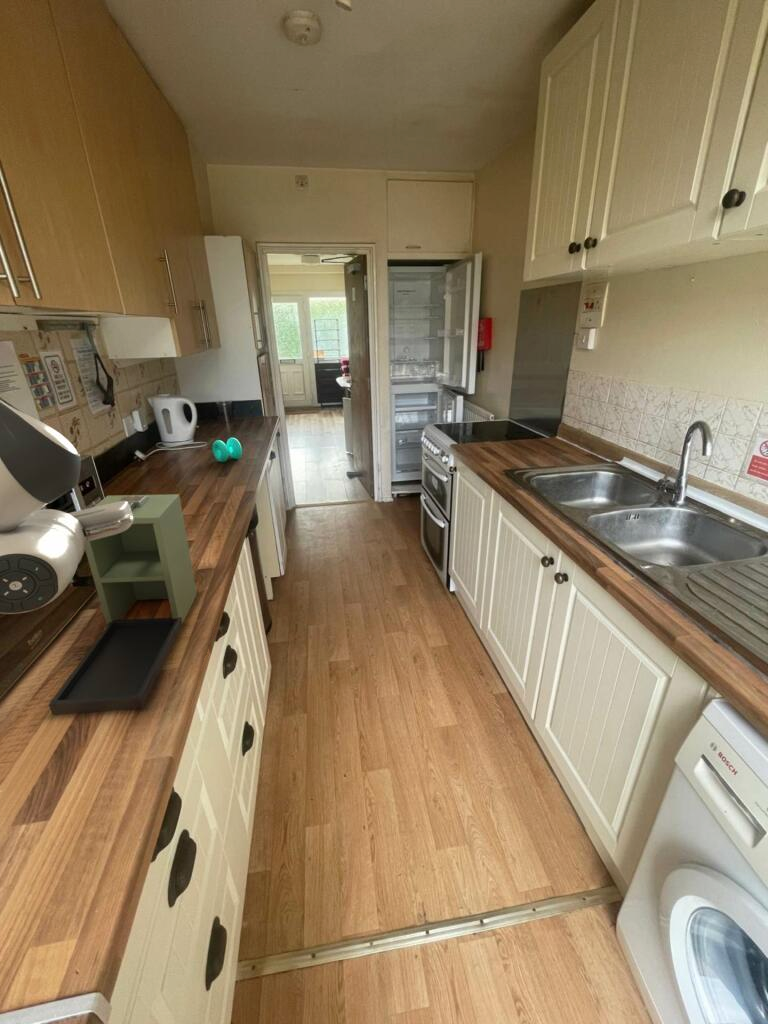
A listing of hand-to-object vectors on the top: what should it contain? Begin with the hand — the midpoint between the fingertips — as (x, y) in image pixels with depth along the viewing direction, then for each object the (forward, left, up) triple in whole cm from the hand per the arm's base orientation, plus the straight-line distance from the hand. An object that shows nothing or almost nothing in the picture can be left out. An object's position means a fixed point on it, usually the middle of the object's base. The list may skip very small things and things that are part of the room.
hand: (63, 519), depth 69 cm
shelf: (+5, +13, -28) cm, 31 cm away
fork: (+5, +7, -3) cm, 9 cm away
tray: (+5, -3, -28) cm, 29 cm away
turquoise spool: (-4, +129, -28) cm, 132 cm away
